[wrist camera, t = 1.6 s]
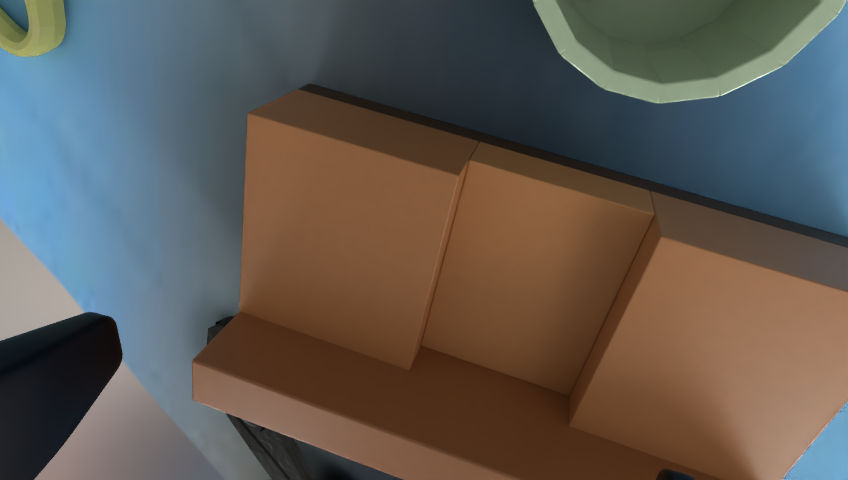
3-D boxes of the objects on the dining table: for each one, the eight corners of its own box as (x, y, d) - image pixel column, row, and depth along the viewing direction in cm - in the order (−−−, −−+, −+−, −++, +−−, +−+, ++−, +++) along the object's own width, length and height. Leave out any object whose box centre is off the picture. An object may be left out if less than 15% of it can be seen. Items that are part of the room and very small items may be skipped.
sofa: (853, 238, 19) (990, 390, 12) (716, 435, 24) (763, 616, 17) (309, 82, 21) (187, 140, 15) (288, 290, 26) (191, 400, 20)
